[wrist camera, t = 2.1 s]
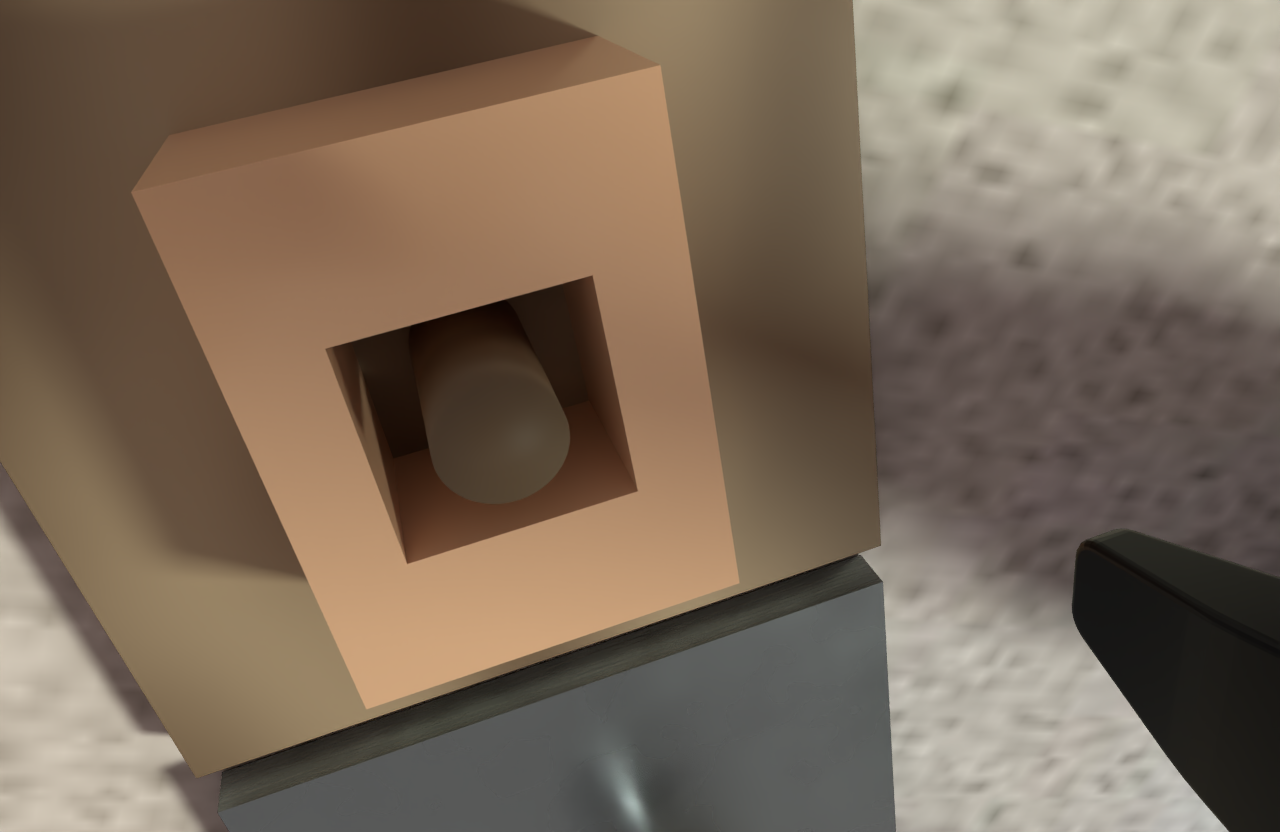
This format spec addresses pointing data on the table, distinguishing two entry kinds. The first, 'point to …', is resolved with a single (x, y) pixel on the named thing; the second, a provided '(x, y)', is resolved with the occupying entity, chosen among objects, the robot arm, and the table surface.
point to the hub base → (627, 734)
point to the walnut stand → (413, 355)
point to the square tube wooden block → (442, 285)
